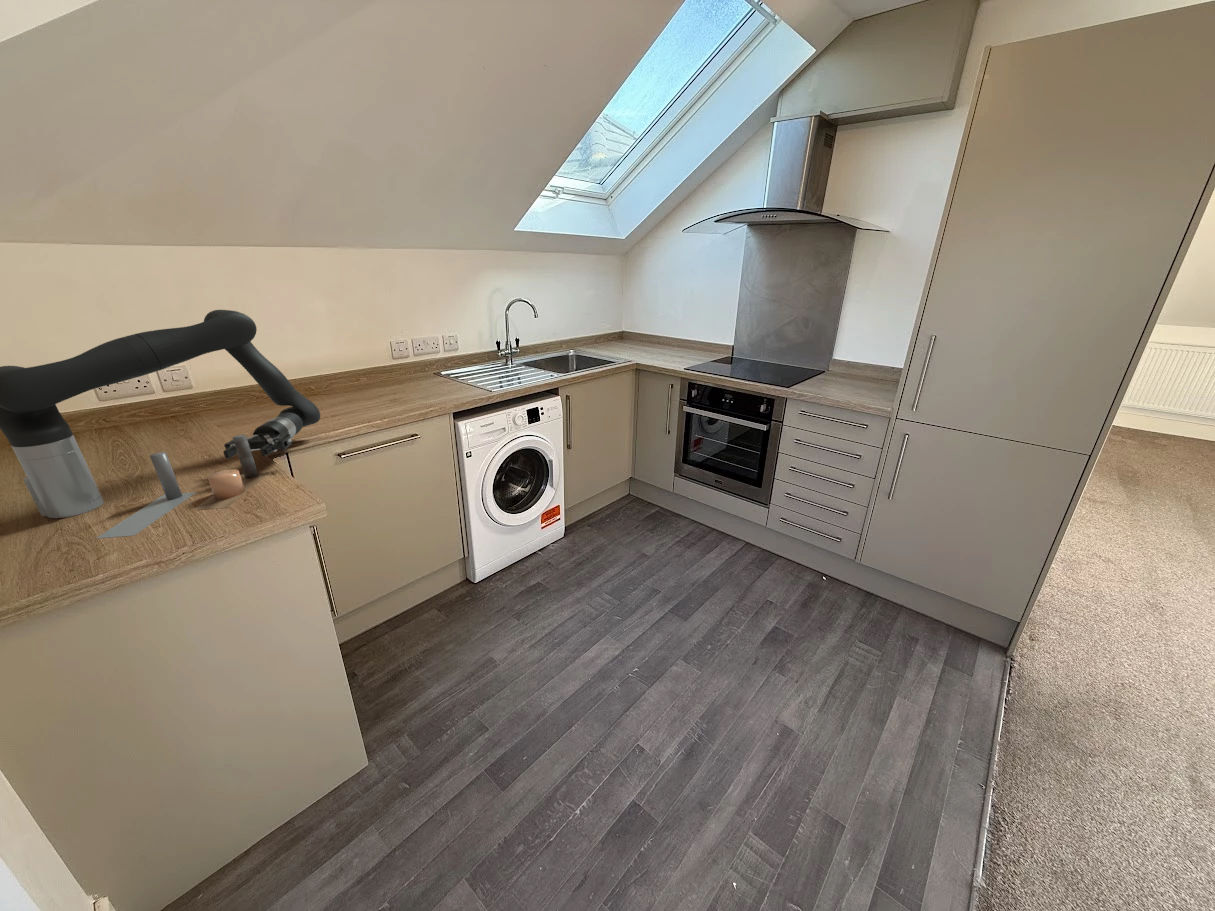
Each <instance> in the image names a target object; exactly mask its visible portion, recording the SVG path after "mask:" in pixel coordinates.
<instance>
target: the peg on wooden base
mask: <svg viewBox="0 0 1215 911" xmlns="http://www.w3.org/2000/svg"><path fill="white" fill-rule="evenodd" d="M247 438H248V437H247V435H246V434H238V435H234V436H233V437H232V440H233V441H234V444H235V447H236V450H237V454H236V455H237V456H238V459H239V462H240V466H241V469H242V472H243V473H241V474H240V476H241V479H242V482H243V485H244V488H245V491H244V492H243V493H242V494H240V495H238V496H235V497H231V498H227V499H216V498H215V497H214V495H213V494H212V495H211V496H210V497H209V498H207V499H206V500H203V502H202V503H200V504H199V505H198V506H196V507H195V508H193V511H205V510H206V511H207V510H218V509H227V508H229V507H230V506H231V505H232V504H234V503H235V502H236V501H237V500H238V499H239V498H241V497H242V496H244V494H246V493H247V492H248V491H250V490H251V489H252V488H253V487H255V485H257V484H258V483H259V482H261V481H262V480H264V478H265V477H267V476H272V474H271V472H258V470H257V466H256V463H255V459H254V457H253V453H252V451H251V450H250V447H249V443H248V440H247Z"/></svg>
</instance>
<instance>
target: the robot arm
mask: <svg viewBox="0 0 1215 911" xmlns="http://www.w3.org/2000/svg"><path fill="white" fill-rule="evenodd" d="M256 334H257V325H256V322H255V321H254V320H253V319H252V318H251V317H250V316H249V315H247V314H245V313H242V312H240V311H236V310H229V309H215V310H212V311H210V312H208V313H207V314H205V316H204V318H203V321H202V322H199V323H196V324H192V325H189V326H181V327H173V328H163V329H155V330H148V331H142V332H138V333H133V334H130V335H125V336H122V337H118V338H115V339H112V340H109V341H105V342H104V343H100V344H99V345H97V346H95V347H93V348H90V349H88V350H86V351H83V352H82V353H80V354H78V355H76V356H73V357H70V358H66V359H63V360H60V361H59V360H58V361H54V362H50V363H45V364H40V365H36V366H30V367H29V366H28V367H23V366H18V365H2V366H0V430H1V432H2V433H3V436H4V437H5V438H6V439H7V440H8V442H9V444H10V446H11V449H12V451H13V452H14V454H15V456H16V458H17V460H18V461H19V463H20V465H21V467H22V469H23V472H24V474H25V475H26V476H25V477H23V479H22V481H23V482H24V484H25V486H26V489H27V490H28V492H29V494H30V496H31V498H32V500H33V501H34V503H35V506H36V508H37V510H38V512H39V513H40V515H41V517H47V518H50V519H61V518H70V517H74V516H79V515H82V514H85V513H88V512H91V511H94V510H95V509H97V508H99V507H100V506H103V504H104V499H103V497H102V495H101V493H100V489H98V488H99V487H98V486H97V483H96V482H95V478H94V477H93V474H92V472H91V470H90V468H89V465H88V464H87V461H86V459H85V457H84V455H83V452H82V451H81V448H80V446H79V444H78V441H77V440H76V438H75V436H74V433H73V431H72V429H71V427H70V425H69V423H68V422H67V420H65V418H64V417H63V415H62V413H61V412H60V410H59V408H58V406H57V404H59V403H61V402H64V401H66V400H69V399H72V398H74V397H76V396H78V395H81V394H83V393H86V392H89V391H91V390H95V389H98V388H103V387H106V386H110V385H114V384H118V383H121V382H125V381H130V380H131V379H136V378H140V377H143V376H146V375H149V374H153V373H156V372H159V371H162V370H164V369H167V368H170V367H174V366H175V365H179V364H181V363H184V362H187V361H190V360H192V359H195V358H198V357H200V356H202V355H206V354H209V353H213V352H217V351H222V350H225V351H226V352H227V353H228V354H229V355H230V356H231V357H233V358H234V359H235V360H236V361H237V362H238V363H239V364H240V365H241V367H242V368H244V369H245V371H246V372H247V373H248V374H249V375H250V376H251V378H252V379H253V380H254V381H256V383H257V384H258V385H259V387H260V388H261V389H262V390H263V391H264V393H265V394H266V395H267V396H268V397H269V399H270V400H271V401H272V402H273V403H274V404H275V405H276V406H279V407H280V406H282V407H283V406H285V407H286V406H289V407H287V408H285V409H282V410H281V411H280V412H279V414H278V415H277V416H275V417H273V418H271V419H269V420H267V421H265V422H264V423H262V424H261V425H258V426H257V427H256V428H255V430H254V431H253V434H252V435H250V436H249V437H247V440H248V443H249V447H250V450H251V452H253V451H259V450H260V454H261V456H262V457H267V456H268V455H270V454H272V453H276V452H278V450H279V451H281V452H282V451H285V450H287V449H288V448H289V447H290V446H291V445H292V444H293V440H292V439H293V437H294V436H296V435H297V434H298V433H299V432H301V430H302V429H303V428H304V427H307V426H310V425H315V424H317V423H318V422H319V421H320V419H321V411H320V410H319V407H317V405H315V403H313V401H311V400H310V399H309V398H307V397H306V396H304V395H303V394H302V393H300V392H299V391H298V390H297V389H295V387H294V385H293V384H292V383H291V382H290V381H289V379H288V378H287V377H286V376H285V375H284V374H283V372H281V370H280V369H279V368H278V367H277V366H276V365H275V364H273V363H272V362H271V361H270V360H268V358H266V357H265V356H264V355H263V354H262V353H261V352H260V351H259V349H257V348H256V346H255V345H254V344H253V343H252V340H254V339H255V337H256ZM223 446H224V448H225V450H224V451H223V452H222V453H223V455H224V457H225V459H231V458H233V457H235V456H236V455H238V454H237V450H236V447H235V444H234V441H233V439H231V440H230V441H228V442H226V443H224V444H223Z"/></svg>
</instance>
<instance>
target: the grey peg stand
mask: <svg viewBox="0 0 1215 911" xmlns="http://www.w3.org/2000/svg"><path fill="white" fill-rule="evenodd" d="M149 457H150V460H151V463H152V465H153V467H154V470H155V473H156V474H157V475H156V476H157V477H158V480H159V482H160V485H161V487H162V490H163V492H164V494H162V495H161V496H159V497H158V498H156V499H154V500H153V501H152V502H151V501H150V503H148V504H147V505H146V506H144V507H142V508H141V509H139V510H138V511H136V512H134V513H133V514H131V515H129V516H128V517H127V518H125V519H124V520H122V521H120V522H118V523H117V524H116V525H113V527H111V528H109V529H108V530H106V531H104V532H103V533H102V534H100V535H98V536H97V537H95V539H96V540H97V539H108V538H109V539H110V538H120V537H122V538H123V537H134V536H136V535H138V534H139V533H140V532H141V531H143V530H144V529H146V528H147V527H149V526H150V525H151V524H153V523H154V522H156V521H158V520H159V519H161V518H162V517H163V516H165V515H166V514H168V513H169V512H171V511H172V510H174V509H175V508H176V507H178V506H179V505H181V504H182V503H183V502H185V501H186V500H188V499H189V498H191V497H192V496H193V495H195V494H197V492H196V491H195V492H194V491H193V492H182V491H181V488H180V485H179V483H178V481H177V478H176V475H175V473H174V470H173V468H172V465H171V462H170V459H169V457H168V455H167V452H165V451H161V452H160V451H159V452H155V453H152V454H150V455H149Z"/></svg>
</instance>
